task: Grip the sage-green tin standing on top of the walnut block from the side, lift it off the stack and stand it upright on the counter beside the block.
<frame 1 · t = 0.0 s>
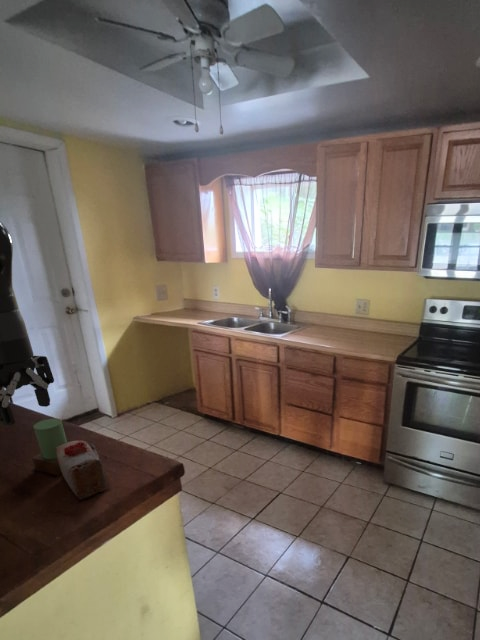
hand: (27, 414, 75), 19 cm above the table, tool pointing down, fingers open, 8 cm apart
food item: (86, 482, 86), on the table
walnut block: (59, 465, 92), on the table, touching green tin
green tin: (56, 453, 90), point 3 cm above the table, touching walnut block
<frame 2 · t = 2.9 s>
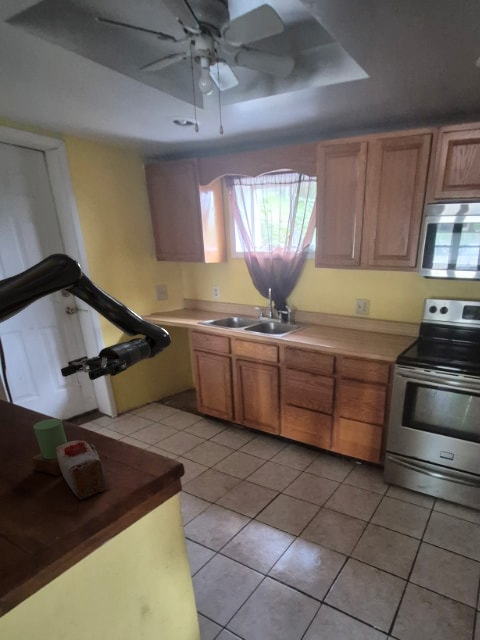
hand: (76, 374, 93), 20 cm above the table, tool horizontal, fingers open, 8 cm apart
nothing on the table moved.
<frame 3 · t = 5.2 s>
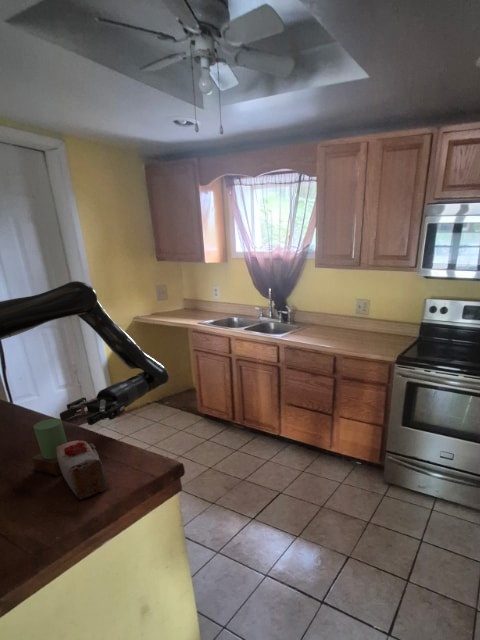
hand: (74, 419, 95), 9 cm above the table, tool horizontal, fingers open, 8 cm apart
nothing on the table moved.
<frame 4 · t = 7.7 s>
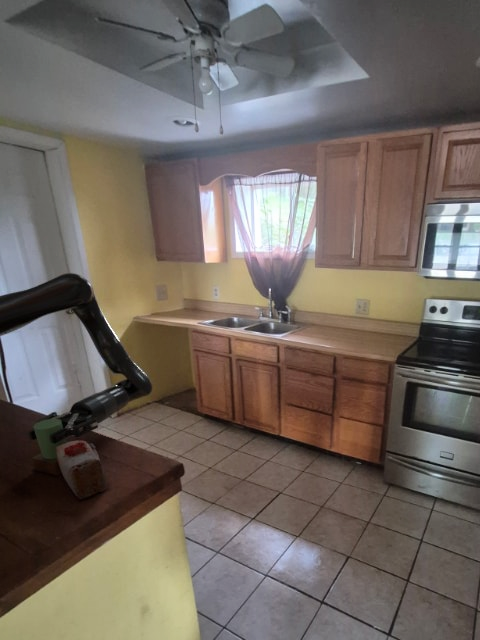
hand: (41, 438, 86), 9 cm above the table, tool horizontal, fingers closed on green tin, 5 cm apart
green tin: (56, 453, 90), point 4 cm above the table, touching gripper, walnut block
everything else where it was.
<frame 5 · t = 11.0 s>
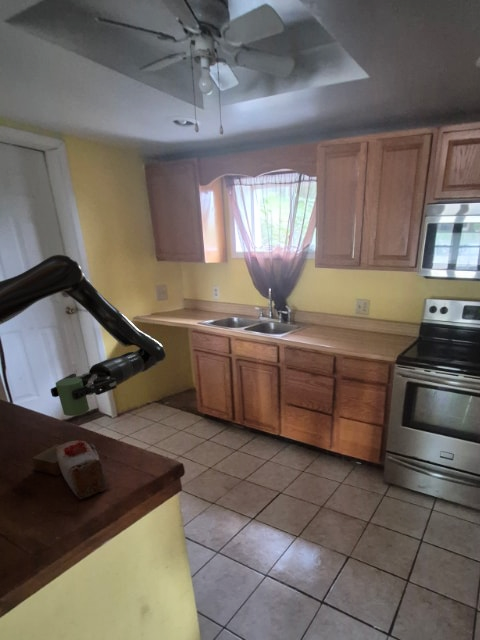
hand: (63, 394, 89), 17 cm above the table, tool horizontal, fingers closed on green tin, 5 cm apart
walnut block: (59, 465, 92), on the table
green tin: (76, 411, 93), point 12 cm above the table, touching gripper
everything else where it was.
when the fingers open (6 cm above the table, at t = 14.7 s): green tin stays where it is, on the table.
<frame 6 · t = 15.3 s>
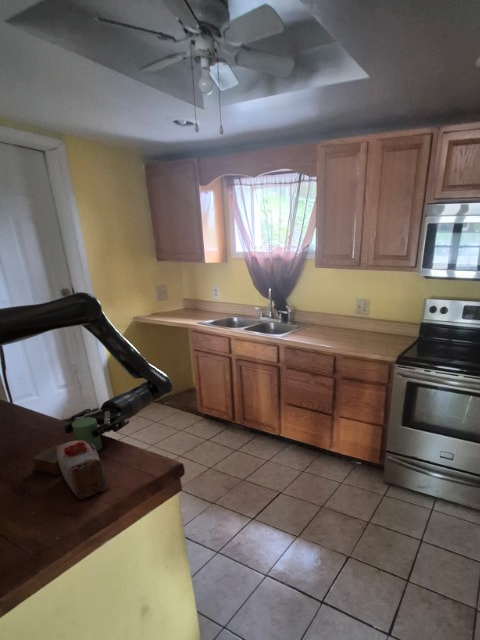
hand: (79, 432, 95), 6 cm above the table, tool horizontal, fingers open, 8 cm apart
green tin: (90, 448, 99), on the table
everything else where it was.
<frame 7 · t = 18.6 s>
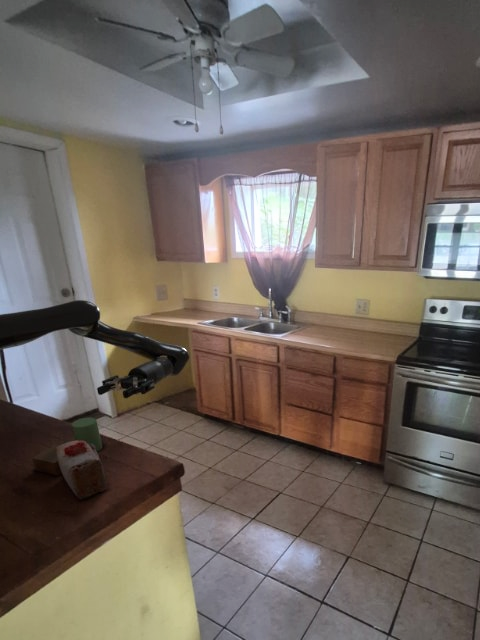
hand: (111, 393, 104), 12 cm above the table, tool horizontal, fingers open, 8 cm apart
nothing on the table moved.
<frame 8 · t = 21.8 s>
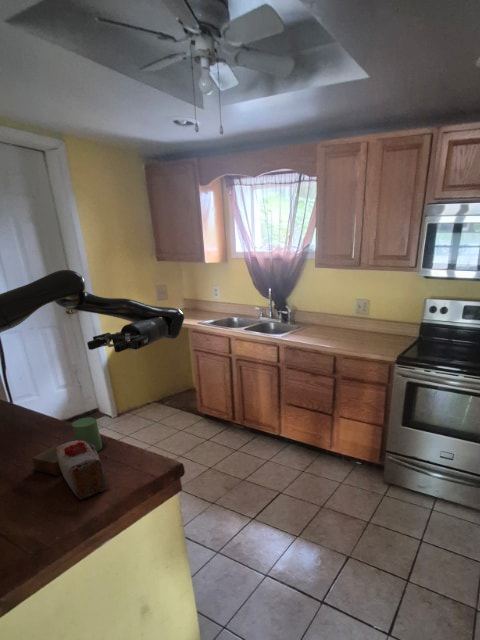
hand: (102, 347, 99), 25 cm above the table, tool horizontal, fingers open, 8 cm apart
nothing on the table moved.
at the end: green tin inside the target area (0.1 cm from its centre), on the table; green tin tilted 0°; walnut block moved 0.0 cm from its start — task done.
